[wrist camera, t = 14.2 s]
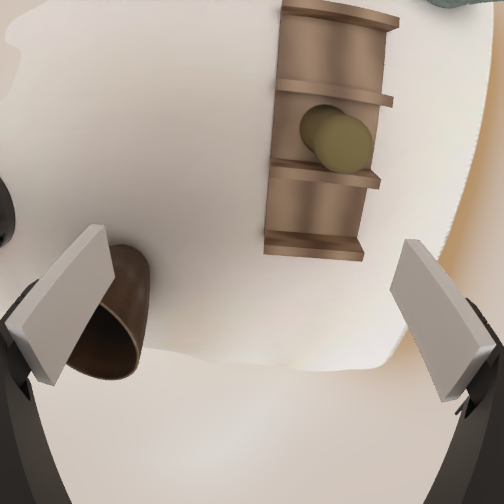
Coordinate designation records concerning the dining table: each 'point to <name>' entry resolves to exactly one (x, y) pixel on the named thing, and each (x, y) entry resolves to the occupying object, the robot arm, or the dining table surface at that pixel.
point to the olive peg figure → (336, 138)
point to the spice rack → (304, 98)
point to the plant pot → (116, 321)
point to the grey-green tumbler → (457, 2)
